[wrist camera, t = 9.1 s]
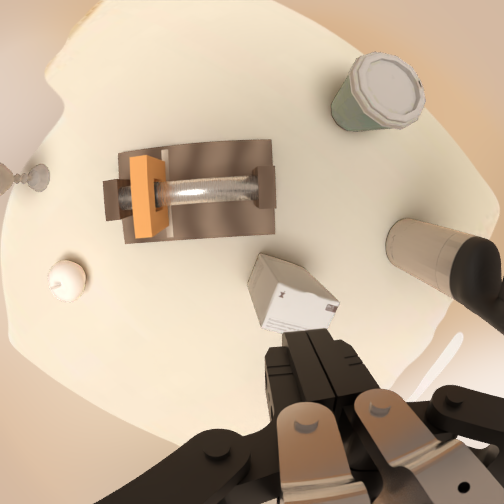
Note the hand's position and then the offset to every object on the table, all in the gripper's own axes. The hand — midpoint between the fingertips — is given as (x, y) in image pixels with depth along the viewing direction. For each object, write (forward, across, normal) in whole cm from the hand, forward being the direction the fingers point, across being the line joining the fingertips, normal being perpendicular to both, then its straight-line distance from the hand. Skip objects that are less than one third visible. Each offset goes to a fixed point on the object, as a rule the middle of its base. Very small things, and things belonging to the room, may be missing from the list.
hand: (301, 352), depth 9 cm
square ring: (+30, +13, -6) cm, 33 cm away
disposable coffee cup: (+34, -16, -18) cm, 42 cm away
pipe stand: (+34, +8, -6) cm, 35 cm away
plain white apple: (+34, +31, +7) cm, 46 cm away
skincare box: (+34, -4, +8) cm, 35 cm away
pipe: (+27, +8, -5) cm, 29 cm away
